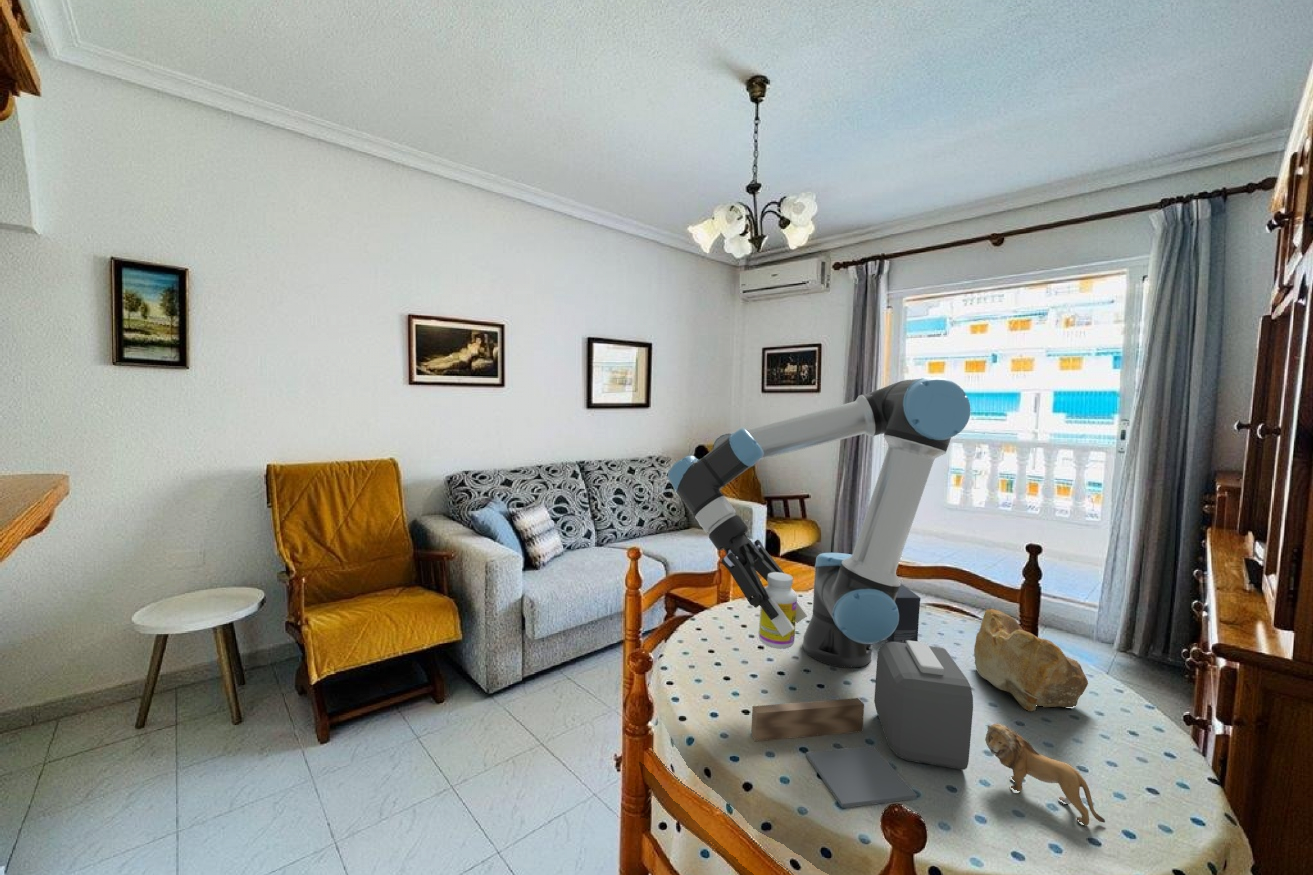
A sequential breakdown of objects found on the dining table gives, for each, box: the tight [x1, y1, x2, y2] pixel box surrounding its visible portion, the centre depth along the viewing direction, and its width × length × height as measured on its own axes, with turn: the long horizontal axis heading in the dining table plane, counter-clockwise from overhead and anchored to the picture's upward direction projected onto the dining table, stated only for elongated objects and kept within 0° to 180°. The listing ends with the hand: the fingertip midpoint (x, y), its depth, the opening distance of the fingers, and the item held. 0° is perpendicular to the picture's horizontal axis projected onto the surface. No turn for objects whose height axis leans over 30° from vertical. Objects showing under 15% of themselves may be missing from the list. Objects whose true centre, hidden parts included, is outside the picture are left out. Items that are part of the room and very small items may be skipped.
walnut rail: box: [750, 697, 865, 742], centre depth 91 cm, size 20×2×5 cm, turn 101°
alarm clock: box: [873, 640, 974, 771], centre depth 90 cm, size 16×11×16 cm
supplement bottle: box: [758, 572, 798, 650], centre depth 98 cm, size 7×7×13 cm
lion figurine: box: [984, 723, 1106, 825], centre depth 77 cm, size 15×5×9 cm, turn 51°
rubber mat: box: [805, 745, 918, 809], centre depth 80 cm, size 12×11×1 cm
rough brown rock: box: [973, 608, 1089, 712], centre depth 105 cm, size 23×17×15 cm
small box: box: [886, 583, 921, 643], centre depth 132 cm, size 13×7×12 cm, turn 2°
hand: (795, 625), depth 96 cm, fingers closed on supplement bottle, 7 cm apart
